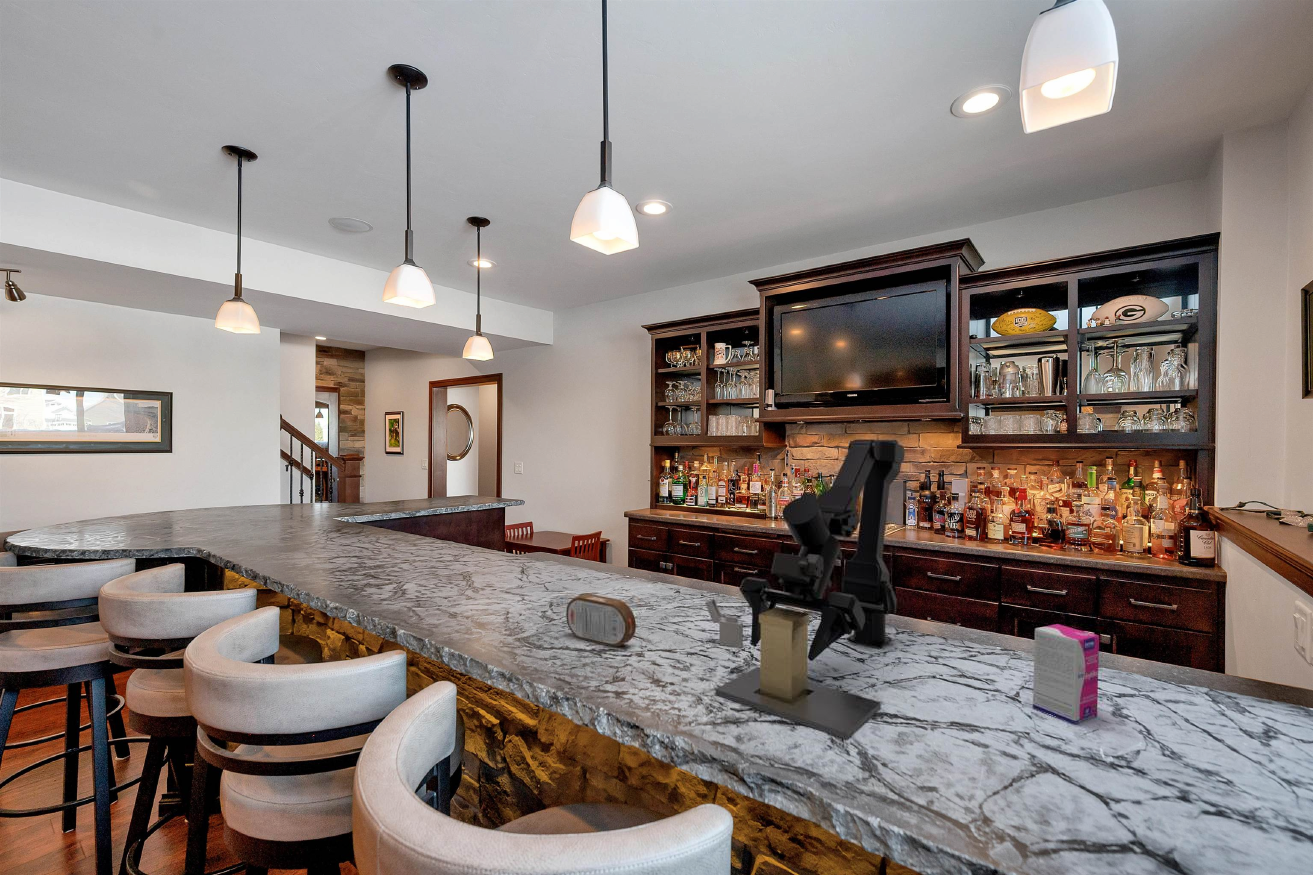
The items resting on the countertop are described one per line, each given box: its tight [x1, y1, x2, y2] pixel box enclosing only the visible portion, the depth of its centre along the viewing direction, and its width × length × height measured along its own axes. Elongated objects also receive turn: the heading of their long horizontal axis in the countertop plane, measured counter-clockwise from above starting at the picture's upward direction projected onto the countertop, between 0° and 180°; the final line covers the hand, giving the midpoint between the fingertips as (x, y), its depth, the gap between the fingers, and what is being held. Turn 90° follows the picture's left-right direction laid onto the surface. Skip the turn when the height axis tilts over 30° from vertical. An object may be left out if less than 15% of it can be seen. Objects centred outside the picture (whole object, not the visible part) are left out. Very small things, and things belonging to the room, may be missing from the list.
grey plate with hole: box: [715, 666, 882, 740], centre depth 84 cm, size 12×20×1 cm, turn 50°
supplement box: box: [1031, 623, 1100, 725], centre depth 82 cm, size 6×6×12 cm
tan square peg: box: [759, 606, 811, 706], centre depth 86 cm, size 5×5×12 cm
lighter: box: [704, 598, 744, 649], centre depth 109 cm, size 7×2×8 cm, turn 61°
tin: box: [565, 592, 637, 648], centre depth 110 cm, size 15×3×8 cm, turn 58°
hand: (780, 651), depth 85 cm, fingers open, 9 cm apart
